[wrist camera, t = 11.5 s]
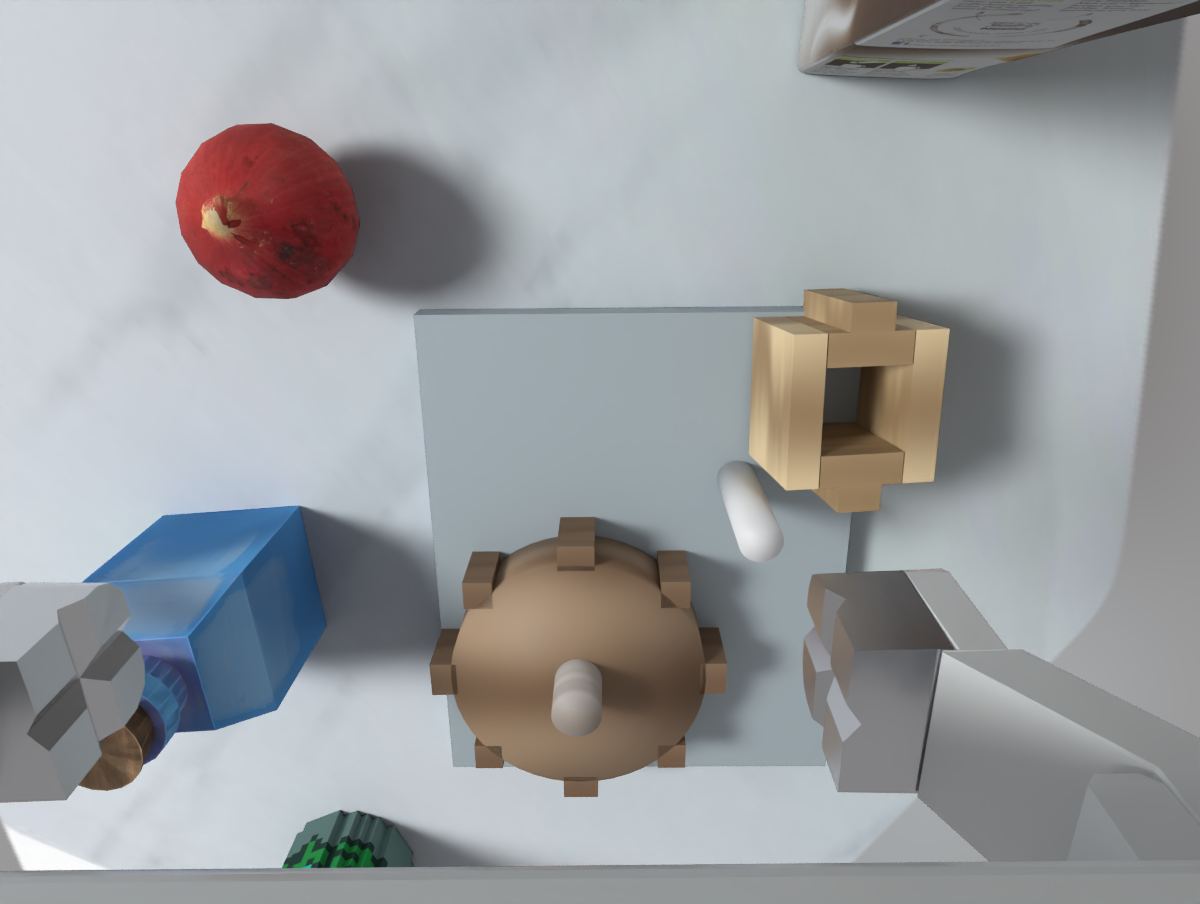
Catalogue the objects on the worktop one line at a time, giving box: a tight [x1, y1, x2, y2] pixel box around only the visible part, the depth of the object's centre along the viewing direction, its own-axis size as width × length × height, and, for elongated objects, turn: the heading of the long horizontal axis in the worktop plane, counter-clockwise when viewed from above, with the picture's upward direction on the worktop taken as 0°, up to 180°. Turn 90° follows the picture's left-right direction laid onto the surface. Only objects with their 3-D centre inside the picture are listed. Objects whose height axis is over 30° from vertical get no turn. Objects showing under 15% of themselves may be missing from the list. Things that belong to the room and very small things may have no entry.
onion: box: [176, 123, 360, 299], centre depth 28 cm, size 6×6×8 cm
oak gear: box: [749, 289, 950, 513], centre depth 31 cm, size 8×6×4 cm
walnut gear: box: [430, 517, 727, 797], centre depth 35 cm, size 12×12×5 cm
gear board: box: [413, 306, 861, 767], centre depth 34 cm, size 22×18×7 cm
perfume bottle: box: [79, 506, 326, 791], centre depth 32 cm, size 6×6×12 cm
